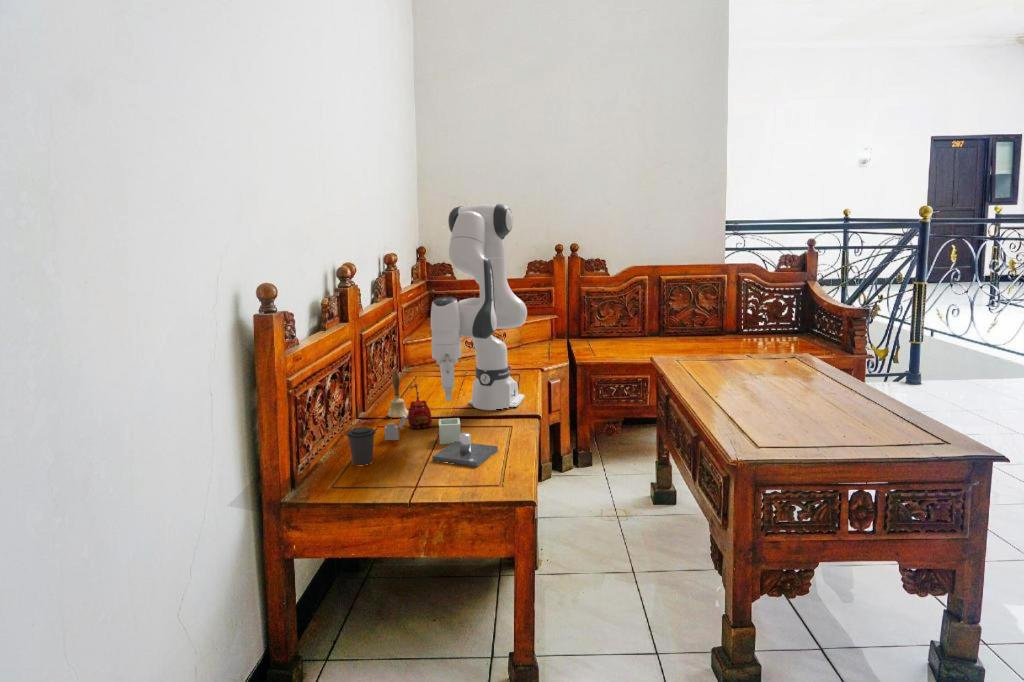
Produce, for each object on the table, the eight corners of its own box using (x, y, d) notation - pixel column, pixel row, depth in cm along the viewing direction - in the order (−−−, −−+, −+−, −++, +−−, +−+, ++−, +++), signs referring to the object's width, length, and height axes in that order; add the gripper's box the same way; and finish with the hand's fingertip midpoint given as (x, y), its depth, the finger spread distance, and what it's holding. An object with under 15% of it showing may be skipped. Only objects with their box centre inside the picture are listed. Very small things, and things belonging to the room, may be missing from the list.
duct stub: (455, 445, 217) (454, 425, 216) (497, 451, 212) (497, 429, 211) (432, 461, 205) (431, 439, 203) (476, 467, 199) (476, 444, 198)
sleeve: (439, 437, 225) (438, 419, 224) (460, 436, 226) (459, 418, 225) (439, 444, 219) (439, 425, 218) (460, 443, 220) (460, 424, 219)
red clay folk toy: (410, 431, 232) (408, 386, 230) (406, 425, 239) (404, 381, 236) (433, 428, 235) (431, 383, 232) (429, 422, 241) (427, 379, 238)
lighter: (385, 441, 223) (383, 416, 222) (385, 439, 225) (384, 414, 224) (408, 440, 224) (406, 415, 222) (408, 438, 225) (407, 413, 224)
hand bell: (383, 418, 247) (380, 373, 244) (390, 411, 255) (387, 367, 252) (406, 419, 246) (404, 373, 243) (413, 412, 254) (410, 367, 251)
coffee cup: (352, 458, 209) (350, 424, 207) (380, 457, 208) (378, 424, 207) (345, 468, 201) (342, 433, 199) (374, 467, 200) (371, 433, 199)
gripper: (458, 358, 207) (460, 404, 210) (455, 345, 227) (457, 388, 230) (436, 359, 207) (438, 405, 209) (435, 346, 227) (437, 388, 229)
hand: (448, 396), depth 220 cm, fingers open, 8 cm apart
